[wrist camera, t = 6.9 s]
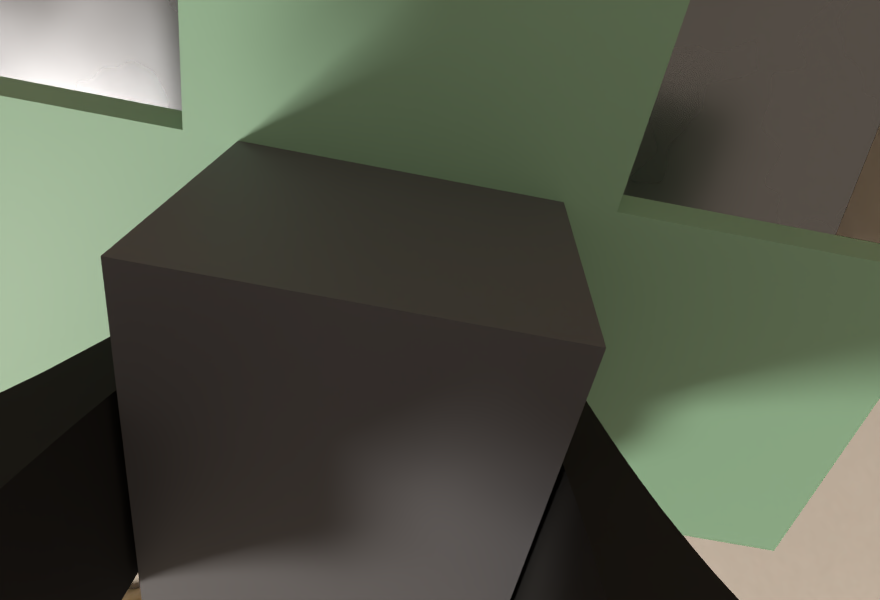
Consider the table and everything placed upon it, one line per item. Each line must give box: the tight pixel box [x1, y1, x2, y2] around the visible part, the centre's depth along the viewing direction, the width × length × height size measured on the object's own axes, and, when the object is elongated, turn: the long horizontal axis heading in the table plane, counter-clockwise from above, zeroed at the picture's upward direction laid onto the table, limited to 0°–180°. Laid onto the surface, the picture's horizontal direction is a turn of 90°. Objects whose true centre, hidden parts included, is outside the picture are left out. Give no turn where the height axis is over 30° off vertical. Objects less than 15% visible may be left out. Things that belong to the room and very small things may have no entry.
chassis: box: [0, 0, 880, 235], centre depth 14 cm, size 19×18×4 cm
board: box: [0, 0, 880, 600], centre depth 9 cm, size 16×16×4 cm
